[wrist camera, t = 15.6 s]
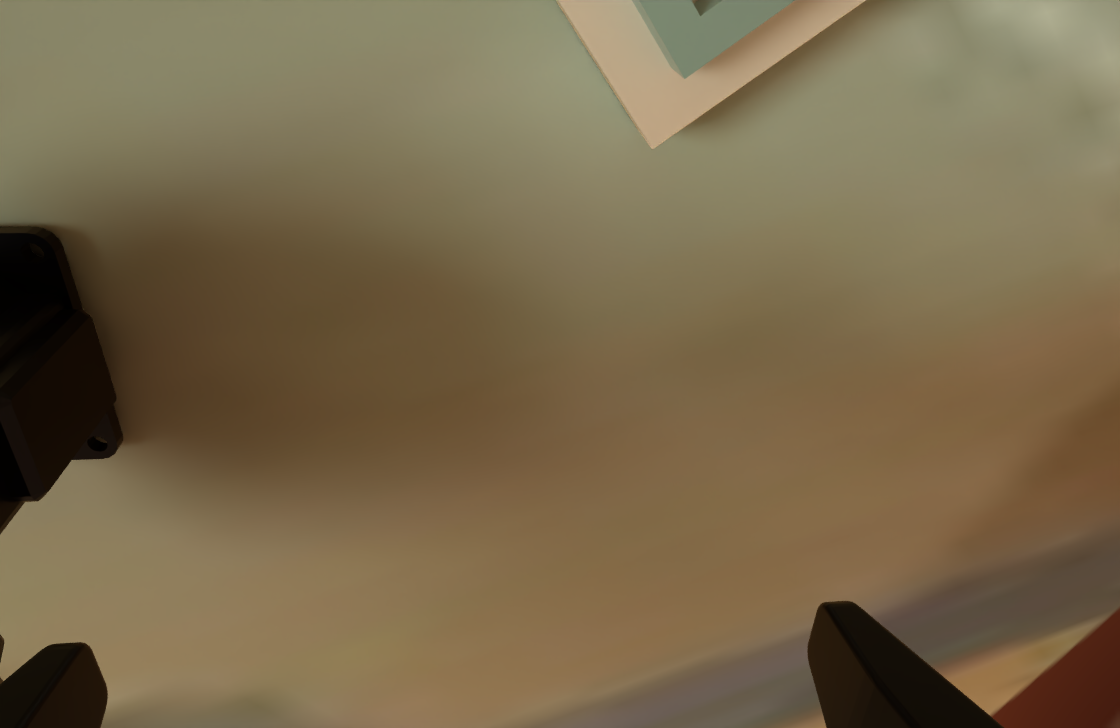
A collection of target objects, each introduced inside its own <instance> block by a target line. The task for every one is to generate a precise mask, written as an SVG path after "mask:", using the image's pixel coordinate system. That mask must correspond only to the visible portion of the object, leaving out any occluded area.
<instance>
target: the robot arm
mask: <svg viewBox="0 0 1120 728" xmlns="http://www.w3.org/2000/svg"><path fill="white" fill-rule="evenodd" d="M29 243H33V244H36V245H38V246H39V247H40V248H41V249H42V250H43V252H44V257H42V256H38V255H36V254H35V253H33V252H32V250H31V249H30V247H29ZM115 400H116V394H115V390H114V387H113V384H112V381H111V378H110V374H109V371H108V368H107V365H106V362H105V359H104V355H103V352H102V349H101V346H100V343H99V339H98V336H97V333H96V330H95V327H94V323H93V320H92V318H91V317H90V316H89V315H88V314H87V313H86V312H85V311H84V310H83V308H82V305H81V302H80V299H79V296H78V293H77V290H76V286H75V283H74V280H73V277H72V274H71V271H70V267H69V264H68V261H67V258H66V255H65V252H64V249H63V246H62V244H61V242H60V240H59V239H58V238H57V237H56V236H55V235H54V234H53V233H52V232H50V231H48V230H46V229H44V228H39V227H0V534H1V533H2V531H3V530H4V529H5V527H6V526H7V525H8V524H9V522H10V521H11V520H12V518H13V517H14V516H15V514H16V513H17V512H18V510H19V509H20V508H21V507H22V505H23V504H24V503H25V502H32V501H39V500H41V499H42V498H43V497H44V496H45V495H46V493H47V492H48V491H49V490H50V489H51V487H52V486H53V485H54V483H55V482H56V481H57V479H58V478H59V476H60V475H61V474H62V472H63V471H64V470H65V468H66V467H67V466H68V464H69V463H70V462H71V460H82V459H104V458H109V457H111V456H112V455H114V454H115V453H116V451H117V450H118V448H119V447H120V445H121V443H122V441H123V434H122V431H121V428H120V425H119V422H118V418H117V415H116V412H115V409H114V406H113V403H114V402H115ZM94 436H98V437H101V438H103V439H105V441H106V442H107V443H103V442H100V441H98V440H96V438H95V437H94ZM3 647H4V639H3V638H2V636H1V635H0V662H1V657H2V652H3ZM808 661H809V665H810V669H811V673H812V676H813V680H814V683H815V687H816V691H817V694H818V698H819V702H820V705H821V709H822V712H823V716H824V720H825V723H826V727H827V728H1004V727H1003V726H1001V725H1000V724H999V723H998V722H997V721H995V720H994V719H993V718H992V717H991V716H989V715H988V714H987V713H986V712H985V711H984V710H982V709H981V708H980V707H979V706H978V705H976V704H975V703H974V702H973V701H972V700H970V699H969V698H968V697H967V696H966V695H964V694H963V693H962V692H961V691H960V690H958V689H957V688H956V687H955V686H954V685H953V684H951V683H950V682H949V681H948V680H947V679H945V678H944V677H943V676H942V675H941V674H939V673H938V672H937V671H936V670H935V669H933V668H932V667H931V666H930V665H929V664H927V663H926V662H925V661H924V660H923V659H921V658H920V657H919V656H918V655H917V654H916V653H914V652H913V651H912V650H911V649H910V648H908V647H907V646H906V645H905V644H904V643H902V642H901V641H900V640H899V639H898V638H896V637H895V636H894V635H893V634H892V633H890V632H889V631H888V630H887V629H886V628H885V627H883V626H882V625H881V624H880V623H879V622H877V621H876V620H875V619H874V618H873V617H871V616H870V615H869V614H868V613H867V612H865V611H864V610H863V609H862V608H861V607H859V606H858V605H857V604H855V603H853V602H850V601H835V602H824V603H822V604H821V605H820V606H819V607H818V610H817V613H816V616H815V620H814V624H813V627H812V631H811V635H810V639H809V642H808ZM107 699H108V692H107V686H106V683H105V681H104V678H103V676H102V673H101V671H100V668H99V666H98V664H97V661H96V659H95V656H94V654H93V651H92V649H91V648H90V646H88V645H87V644H86V643H81V642H79V643H60V644H52V645H49V646H47V647H45V648H44V649H42V650H41V651H40V652H38V653H37V654H36V655H35V656H34V657H32V658H31V659H30V660H29V661H27V662H26V663H25V664H24V665H23V666H21V667H20V668H19V669H18V670H17V671H15V672H14V673H13V674H12V675H11V676H9V677H8V678H7V679H6V680H5V681H3V680H2V679H1V678H0V728H100V727H101V724H102V720H103V717H104V713H105V710H106V705H107Z"/></svg>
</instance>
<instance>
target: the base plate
mask: <svg viewBox="0 0 1120 728" xmlns="http://www.w3.org/2000/svg"><path fill="white" fill-rule="evenodd" d="M864 1H866V0H556V2H557V3H558V5H559V6H560V8H561V10H562V11H563V13H564V14H565V16H566V17H567V19H568V21H569V22H570V24H571V25H572V27H573V28H574V30H575V32H576V33H577V35H578V36H579V38H580V40H581V41H582V43H583V44H584V46H585V47H586V49H587V51H588V52H589V54H590V55H591V57H592V58H593V60H594V62H595V63H596V65H597V66H598V68H599V69H600V71H601V73H602V74H603V76H604V77H605V79H606V80H607V82H608V84H609V85H610V87H611V88H612V90H613V92H614V93H615V95H616V96H617V98H618V99H619V101H620V103H621V104H622V106H623V107H624V109H625V110H626V112H627V114H628V115H629V117H630V118H631V120H632V121H633V123H634V125H635V126H636V128H637V129H638V130H639V132H640V133H641V135H642V136H643V137H644V139H645V140H646V142H647V143H648V144H649V146H650V147H651V148H652V149H654V148H655V147H657V146H658V145H659V144H661V143H662V142H664V141H665V140H667V139H668V138H670V137H671V136H672V135H674V134H675V133H677V132H678V131H680V130H681V129H682V128H684V127H685V126H687V125H688V124H690V123H691V122H692V121H694V120H695V119H697V118H698V117H700V116H701V115H702V114H704V113H705V112H707V111H708V110H710V109H711V108H712V107H714V106H715V105H717V104H718V103H720V102H721V101H722V100H724V99H725V98H727V97H728V96H730V95H731V94H732V93H734V92H735V91H737V90H738V89H740V88H741V87H742V86H744V85H745V84H747V83H748V82H750V81H751V80H752V79H754V78H755V77H757V76H758V75H760V74H761V73H763V72H764V71H765V70H767V69H768V68H770V67H771V66H773V65H774V64H775V63H777V62H778V61H780V60H781V59H783V58H784V57H785V56H787V55H788V54H790V53H791V52H793V51H794V50H795V49H797V48H798V47H800V46H801V45H803V44H804V43H805V42H807V41H808V40H810V39H811V38H813V37H814V36H815V35H817V34H818V33H820V32H821V31H823V30H824V29H825V28H827V27H828V26H830V25H831V24H833V23H834V22H835V21H837V20H838V19H840V18H841V17H843V16H844V15H845V14H847V13H848V12H850V11H851V10H853V9H854V8H856V7H857V6H858V5H860V4H861V3H863V2H864Z"/></svg>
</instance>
